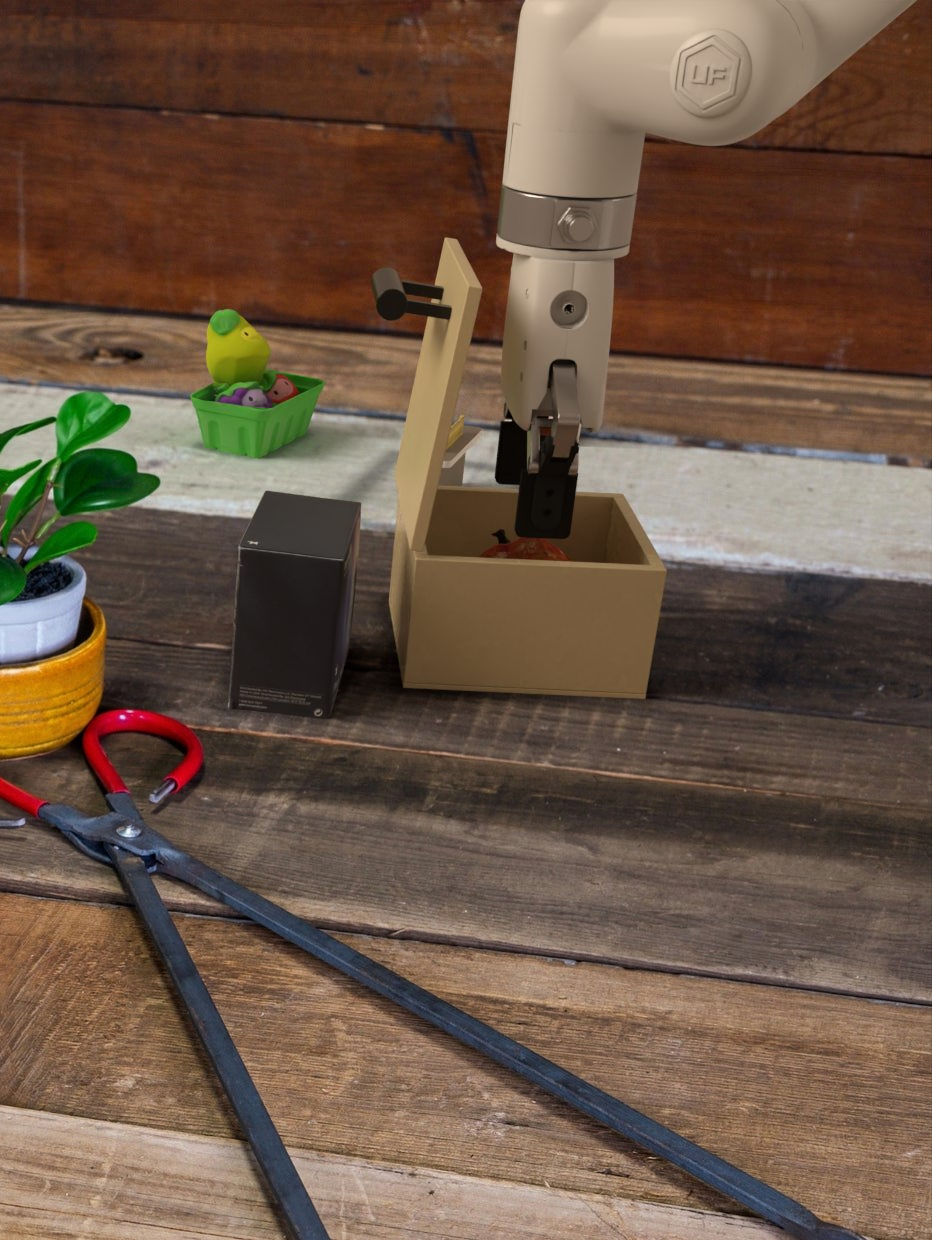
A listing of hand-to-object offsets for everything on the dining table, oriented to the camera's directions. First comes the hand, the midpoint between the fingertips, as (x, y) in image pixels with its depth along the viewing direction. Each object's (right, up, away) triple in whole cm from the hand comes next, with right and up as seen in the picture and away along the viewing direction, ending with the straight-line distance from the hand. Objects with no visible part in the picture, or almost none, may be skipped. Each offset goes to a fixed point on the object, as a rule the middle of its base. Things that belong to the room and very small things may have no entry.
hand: (530, 508), depth 103 cm
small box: (-15, -11, -1) cm, 18 cm away
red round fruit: (0, -8, +4) cm, 9 cm away
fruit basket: (-16, +11, +42) cm, 47 cm away
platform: (-2, +4, +31) cm, 31 cm away
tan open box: (-1, -9, +5) cm, 10 cm away
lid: (-6, +7, -3) cm, 9 cm away
